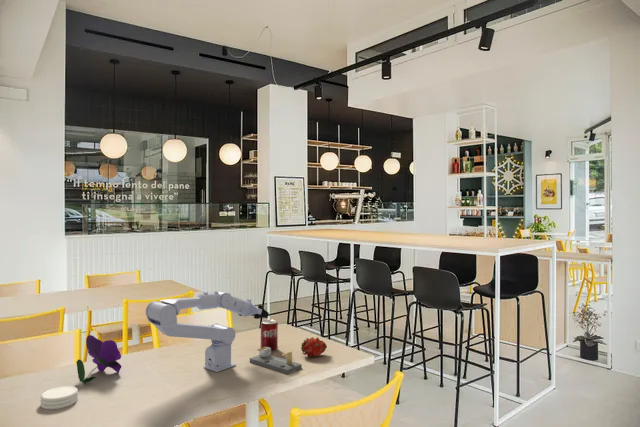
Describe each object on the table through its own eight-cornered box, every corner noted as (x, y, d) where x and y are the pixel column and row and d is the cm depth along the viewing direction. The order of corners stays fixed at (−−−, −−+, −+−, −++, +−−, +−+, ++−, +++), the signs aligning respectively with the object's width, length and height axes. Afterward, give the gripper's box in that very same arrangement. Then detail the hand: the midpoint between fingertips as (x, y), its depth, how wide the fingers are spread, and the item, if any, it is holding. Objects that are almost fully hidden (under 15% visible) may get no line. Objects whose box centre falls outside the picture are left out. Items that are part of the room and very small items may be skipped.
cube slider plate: (287, 374, 162) (287, 357, 162) (249, 362, 174) (249, 346, 174) (301, 368, 168) (301, 352, 168) (264, 356, 180) (264, 342, 180)
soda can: (258, 348, 191) (258, 320, 191) (274, 346, 194) (274, 319, 194) (263, 353, 185) (263, 324, 185) (279, 351, 188) (280, 323, 188)
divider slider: (260, 359, 172) (260, 350, 172) (255, 357, 174) (255, 348, 174) (270, 355, 177) (271, 346, 177) (265, 353, 179) (265, 345, 179)
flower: (107, 398, 151) (131, 368, 162) (91, 367, 144) (117, 338, 156) (72, 393, 155) (98, 364, 166) (56, 362, 148) (84, 334, 159)
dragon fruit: (298, 361, 180) (324, 361, 185) (306, 354, 174) (333, 354, 179) (295, 341, 185) (321, 342, 190) (304, 333, 179) (330, 334, 184)
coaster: (84, 396, 141) (84, 385, 141) (67, 410, 131) (67, 398, 131) (52, 396, 141) (52, 385, 141) (33, 410, 131) (33, 398, 131)
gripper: (253, 297, 172) (276, 307, 181) (229, 294, 181) (252, 303, 190) (248, 315, 169) (271, 324, 179) (224, 311, 178) (247, 319, 188)
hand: (261, 314), depth 184 cm, fingers open, 7 cm apart
